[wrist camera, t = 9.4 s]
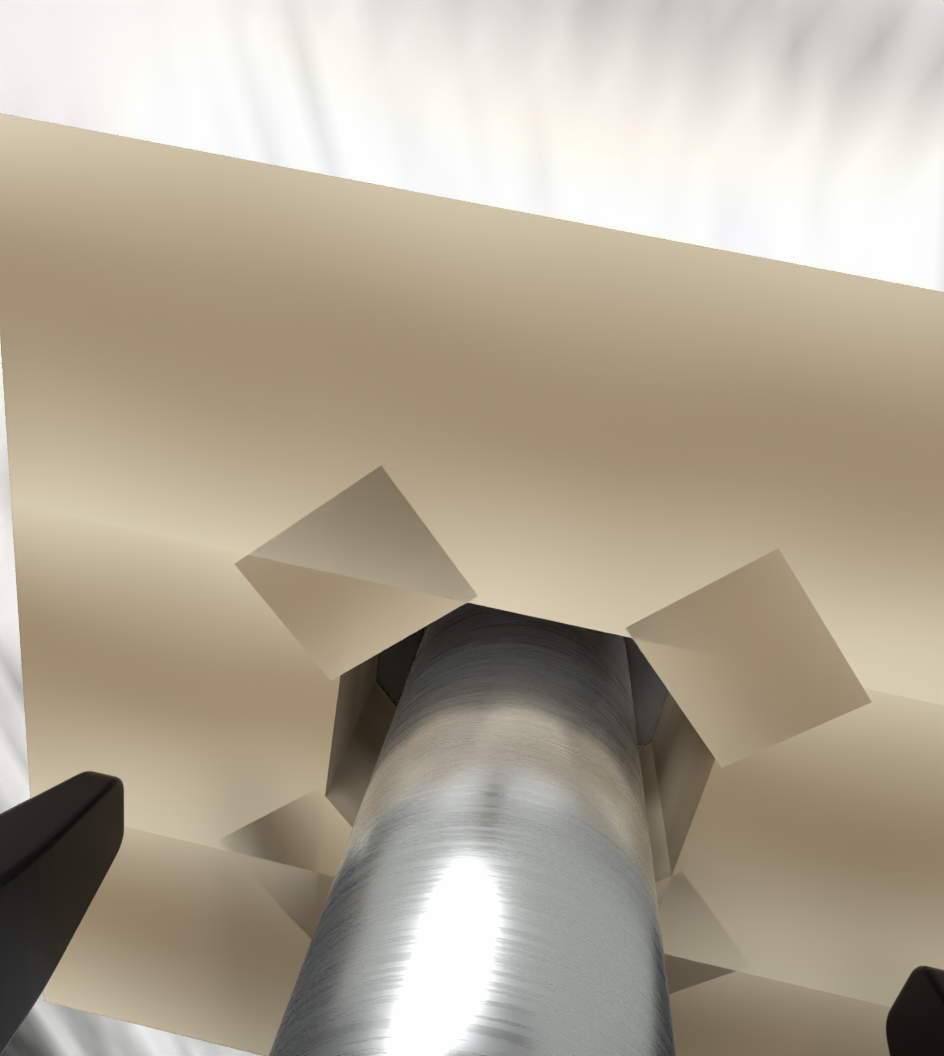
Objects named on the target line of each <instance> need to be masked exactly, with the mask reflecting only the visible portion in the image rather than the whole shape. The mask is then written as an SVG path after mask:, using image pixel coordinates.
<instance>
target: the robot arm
mask: <svg viewBox="0 0 944 1056" xmlns="http://www.w3.org/2000/svg"><path fill="white" fill-rule="evenodd" d="M123 836H124V785H123V782H122V780H121V779H120V778H118V777H116V776H111V775H107V774H103V773H99V772H94V771H85V772H82V773H79V774H77V775H75V776H73V777H71V778H69V779H68V780H66V781H64V782H62V783H60V784H58V785H56V786H54V787H52V788H50V789H48V790H46V791H44V792H42V793H40V794H38V795H36V796H34V797H32V798H30V799H28V800H26V801H24V802H23V803H21V804H19V805H17V806H15V807H13V808H11V809H9V810H7V811H5V812H3V813H1V814H0V1055H1V1054H2V1052H3V1051H4V1049H5V1048H6V1046H7V1045H8V1043H9V1042H10V1040H11V1039H12V1037H13V1036H14V1034H15V1033H16V1031H17V1030H18V1028H19V1027H20V1025H21V1024H22V1022H23V1021H24V1019H25V1018H26V1016H27V1015H28V1013H29V1012H30V1010H31V1009H32V1007H33V1006H34V1004H35V1003H36V1001H37V999H38V998H39V996H40V995H41V993H42V991H43V990H44V988H45V987H46V985H47V983H48V982H49V980H50V978H51V976H52V974H53V973H54V971H55V969H56V967H57V966H58V964H59V962H60V960H61V958H62V956H63V955H64V953H65V951H66V949H67V947H68V945H69V943H70V941H71V940H72V938H73V936H74V934H75V932H76V930H77V928H78V927H79V925H80V923H81V921H82V919H83V917H84V915H85V913H86V912H87V910H88V908H89V906H90V904H91V902H92V900H93V899H94V897H95V895H96V893H97V891H98V889H99V887H100V885H101V884H102V882H103V880H104V878H105V876H106V874H107V872H108V870H109V869H110V867H111V865H112V863H113V861H114V859H115V857H116V856H117V853H118V851H119V849H120V846H121V844H122V840H123ZM886 1038H887V1044H888V1049H889V1054H890V1056H944V970H942V969H937V968H933V967H929V966H919V967H917V968H915V969H914V970H913V971H912V972H911V974H910V975H909V977H908V979H907V981H906V982H905V984H904V986H903V988H902V989H901V991H900V993H899V995H898V996H897V998H896V1000H895V1001H894V1003H893V1005H892V1007H891V1008H890V1010H889V1012H888V1016H887V1020H886Z"/></svg>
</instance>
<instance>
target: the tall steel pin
mask: <svg viewBox="0 0 944 1056" xmlns="http://www.w3.org/2000/svg"><path fill="white" fill-rule="evenodd" d="M269 1056H677V1055H676V1047H675V1039H674V1030H673V1022H672V1014H671V1006H670V998H669V990H668V982H667V974H666V966H665V958H664V949H663V941H662V933H661V925H660V917H659V909H658V901H657V893H656V885H655V877H654V868H653V860H652V852H651V844H650V836H649V828H648V820H647V812H646V804H645V796H644V788H643V779H642V771H641V763H640V755H639V747H638V739H637V731H636V723H635V715H634V707H633V698H632V690H631V682H630V674H629V666H628V658H627V650H626V643H625V639H624V636H620V635H616V634H611V633H606V632H602V631H597V630H593V629H588V628H583V627H579V626H574V625H569V624H565V623H560V622H555V621H551V620H546V619H542V618H537V617H532V616H528V615H523V614H518V613H514V612H509V611H505V610H500V609H495V608H491V607H486V606H481V605H477V604H472V603H465V604H464V605H462V606H460V607H458V608H457V609H455V610H453V611H451V612H450V613H448V614H446V615H444V616H443V617H441V618H439V619H438V620H436V621H434V622H432V623H431V624H429V625H427V627H426V629H425V632H424V635H423V637H422V640H421V643H420V646H419V648H418V651H417V654H416V657H415V659H414V662H413V665H412V667H411V670H410V673H409V676H408V678H407V681H406V684H405V686H404V689H403V692H402V695H401V697H400V700H399V703H398V706H397V708H396V711H395V714H394V716H393V719H392V722H391V725H390V727H389V730H388V733H387V735H386V738H385V741H384V744H383V746H382V749H381V752H380V755H379V757H378V760H377V763H376V765H375V768H374V771H373V774H372V776H371V779H370V782H369V784H368V787H367V790H366V793H365V795H364V798H363V801H362V804H361V806H360V809H359V812H358V814H357V817H356V820H355V823H354V825H353V828H352V831H351V833H350V836H349V839H348V842H347V844H346V847H345V850H344V853H343V855H342V858H341V861H340V863H339V866H338V869H337V872H336V874H335V877H334V880H333V882H332V885H331V888H330V891H329V893H328V896H327V899H326V902H325V904H324V907H323V910H322V912H321V915H320V918H319V921H318V923H317V926H316V929H315V931H314V934H313V937H312V940H311V942H310V945H309V948H308V951H307V953H306V956H305V959H304V961H303V964H302V967H301V970H300V972H299V975H298V978H297V980H296V983H295V986H294V989H293V991H292V994H291V997H290V1000H289V1002H288V1005H287V1008H286V1010H285V1013H284V1016H283V1019H282V1021H281V1024H280V1027H279V1030H278V1032H277V1035H276V1038H275V1040H274V1043H273V1046H272V1049H271V1051H270V1054H269Z"/></svg>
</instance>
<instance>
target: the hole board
mask: <svg viewBox="0 0 944 1056" xmlns="http://www.w3.org/2000/svg"><path fill="white" fill-rule="evenodd" d="M0 338H1V354H2V369H3V384H4V400H5V415H6V430H7V446H8V461H9V476H10V492H11V507H12V522H13V538H14V553H15V568H16V584H17V599H18V614H19V630H20V645H21V660H22V676H23V691H24V706H25V722H26V737H27V752H28V768H29V783H30V798H32V797H34V796H36V795H38V794H40V793H42V792H44V791H46V790H48V789H50V788H52V787H54V786H56V785H58V784H60V783H62V782H64V781H66V780H68V779H69V778H71V777H73V776H75V775H77V774H79V773H82V772H85V771H94V772H99V773H103V774H107V775H111V776H116V777H118V778H120V779H121V780H122V782H123V785H124V836H123V840H122V844H121V846H120V849H119V851H118V853H117V856H116V857H115V859H114V861H113V863H112V865H111V867H110V869H109V870H108V872H107V874H106V876H105V878H104V880H103V882H102V884H101V885H100V887H99V889H98V891H97V893H96V895H95V897H94V899H93V900H92V902H91V904H90V906H89V908H88V910H87V912H86V913H85V915H84V917H83V919H82V921H81V923H80V925H79V927H78V928H77V930H76V932H75V934H74V936H73V938H72V940H71V941H70V943H69V945H68V947H67V949H66V951H65V953H64V955H63V956H62V958H61V960H60V962H59V964H58V966H57V967H56V969H55V971H54V973H53V974H52V976H51V978H50V980H49V982H48V983H47V985H46V987H45V988H44V990H43V998H44V1001H45V1002H49V1003H54V1004H58V1005H62V1006H66V1007H70V1008H74V1009H78V1010H82V1011H86V1012H90V1013H94V1014H98V1015H102V1016H106V1017H110V1018H114V1019H118V1020H122V1021H126V1022H130V1023H134V1024H138V1025H142V1026H146V1027H150V1028H154V1029H158V1030H162V1031H166V1032H170V1033H174V1034H178V1035H182V1036H186V1037H190V1038H194V1039H198V1040H202V1041H206V1042H210V1043H214V1044H218V1045H222V1046H226V1047H230V1048H234V1049H238V1050H242V1051H246V1052H250V1053H254V1054H258V1055H262V1056H269V1054H270V1051H271V1049H272V1046H273V1043H274V1040H275V1038H276V1035H277V1032H278V1030H279V1027H280V1024H281V1021H282V1019H283V1016H284V1013H285V1010H286V1008H287V1005H288V1002H289V1000H290V997H291V994H292V991H293V989H294V986H295V983H296V980H297V978H298V975H299V972H300V970H301V967H302V964H303V961H304V959H305V956H306V953H307V951H308V948H309V945H310V942H311V940H312V937H313V934H314V931H315V929H316V926H317V923H318V921H319V918H320V915H321V912H322V910H323V907H324V904H325V902H326V899H327V896H328V893H329V891H330V888H331V885H332V882H333V880H334V877H335V874H336V872H337V869H338V866H339V863H340V861H341V858H342V855H343V853H344V850H345V847H346V844H347V842H348V839H349V836H350V833H351V831H352V828H353V825H354V823H355V820H356V817H357V814H358V812H359V809H360V806H361V804H362V801H363V798H364V795H365V793H366V790H367V787H368V784H369V782H370V779H371V776H372V774H373V771H374V768H375V765H376V763H377V760H378V757H379V755H380V752H381V749H382V746H383V744H384V741H385V738H386V735H387V733H388V730H389V727H390V725H391V722H392V719H393V716H394V714H395V711H396V708H397V706H396V705H395V704H394V703H393V701H392V700H391V699H390V698H389V697H388V695H387V694H386V693H385V692H384V690H383V689H382V688H381V687H380V685H379V684H378V683H377V682H376V673H377V666H378V660H379V653H380V652H382V651H384V650H385V649H387V648H389V647H390V646H392V645H394V644H396V643H397V642H399V641H401V640H403V639H404V638H406V637H408V636H410V635H411V634H413V633H415V632H417V631H418V630H420V629H422V628H424V627H425V626H427V625H429V624H431V623H432V622H434V621H436V620H438V619H439V618H441V617H443V616H444V615H446V614H448V613H450V612H451V611H453V610H455V609H457V608H458V607H460V606H462V605H464V604H465V603H472V604H477V605H481V606H486V607H491V608H495V609H500V610H505V611H509V612H514V613H518V614H523V615H528V616H532V617H537V618H542V619H546V620H551V621H555V622H560V623H565V624H569V625H574V626H579V627H583V628H588V629H593V630H597V631H602V632H606V633H611V634H616V635H620V636H625V637H630V638H632V639H633V640H634V641H635V643H636V644H637V646H638V647H639V649H640V650H641V652H642V653H643V654H644V656H645V657H646V659H647V660H648V662H649V663H650V665H651V666H652V668H653V669H654V670H655V672H656V673H657V675H658V676H659V678H660V679H661V681H662V682H663V683H664V685H665V686H666V688H667V689H668V693H667V696H666V699H665V702H664V705H663V708H662V711H661V714H660V717H659V720H658V723H657V726H656V729H655V732H654V735H653V739H652V742H650V743H648V744H645V745H643V746H641V747H639V755H640V763H641V771H642V779H643V788H644V796H645V804H646V812H647V820H648V828H649V836H650V844H651V852H652V860H653V868H654V877H655V885H656V893H657V901H658V909H659V917H660V925H661V933H662V941H663V949H664V958H665V966H666V974H667V982H668V990H669V998H670V1006H671V1014H672V1022H673V1030H674V1039H675V1047H676V1055H677V1056H890V1054H889V1049H888V1044H887V1038H886V1020H887V1016H888V1012H889V1010H890V1008H891V1007H892V1005H893V1003H894V1001H895V1000H896V998H897V996H898V995H899V993H900V991H901V989H902V988H903V986H904V984H905V982H906V981H907V979H908V977H909V975H910V974H911V972H912V971H913V970H914V969H915V968H917V967H919V966H929V967H933V968H937V969H942V970H944V292H940V291H935V290H929V289H924V288H919V287H914V286H908V285H903V284H898V283H892V282H887V281H882V280H877V279H871V278H866V277H861V276H856V275H850V274H845V273H840V272H834V271H829V270H824V269H819V268H813V267H808V266H803V265H798V264H792V263H787V262H782V261H776V260H771V259H766V258H761V257H755V256H750V255H745V254H740V253H734V252H729V251H724V250H718V249H713V248H708V247H703V246H697V245H692V244H687V243H682V242H676V241H671V240H666V239H661V238H655V237H650V236H645V235H639V234H634V233H629V232H624V231H618V230H613V229H608V228H603V227H597V226H592V225H587V224H581V223H576V222H571V221H566V220H560V219H555V218H550V217H545V216H539V215H534V214H529V213H523V212H518V211H513V210H508V209H502V208H497V207H492V206H487V205H481V204H476V203H471V202H465V201H460V200H455V199H450V198H444V197H439V196H434V195H429V194H423V193H418V192H413V191H408V190H402V189H397V188H392V187H386V186H381V185H376V184H371V183H365V182H360V181H355V180H350V179H344V178H339V177H334V176H328V175H323V174H318V173H313V172H307V171H302V170H297V169H292V168H286V167H281V166H276V165H270V164H265V163H260V162H255V161H249V160H244V159H239V158H234V157H228V156H223V155H218V154H213V153H207V152H202V151H197V150H191V149H186V148H181V147H176V146H170V145H165V144H160V143H155V142H149V141H144V140H139V139H133V138H128V137H123V136H118V135H112V134H107V133H102V132H97V131H91V130H86V129H81V128H75V127H70V126H65V125H60V124H54V123H49V122H44V121H39V120H33V119H28V118H23V117H17V116H12V115H7V114H2V113H0Z"/></svg>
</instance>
